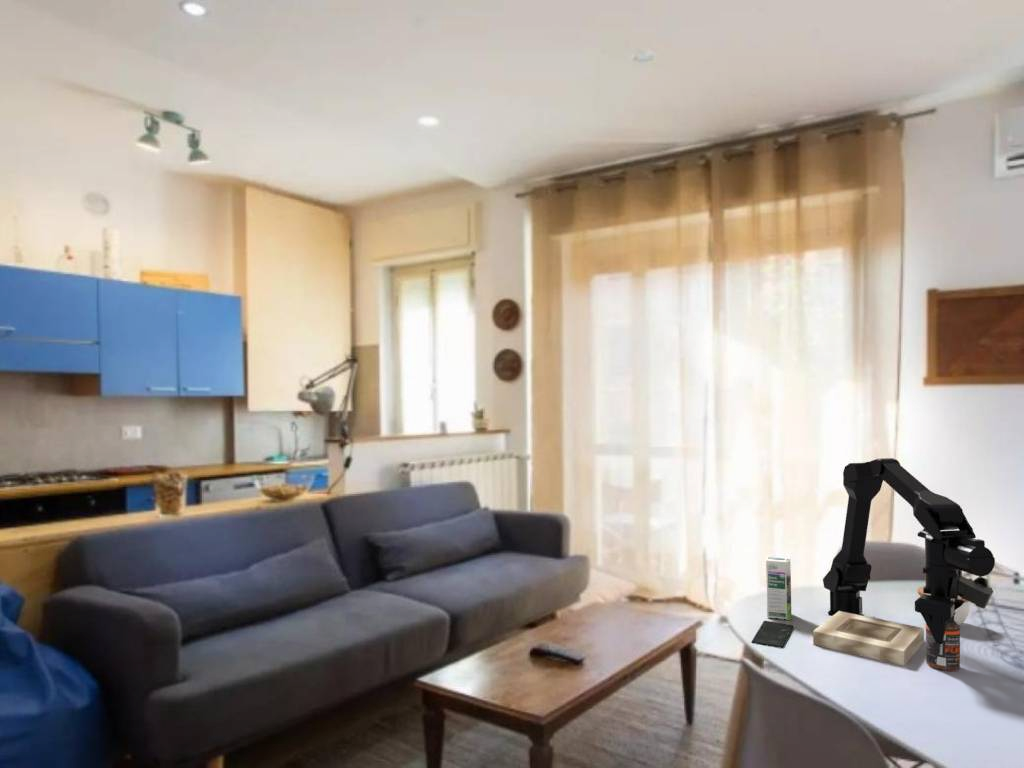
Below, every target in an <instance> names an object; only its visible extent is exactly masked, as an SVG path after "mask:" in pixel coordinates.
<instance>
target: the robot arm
mask: <svg viewBox="0 0 1024 768" xmlns="http://www.w3.org/2000/svg"><path fill="white" fill-rule="evenodd" d="M842 475H843V480H842V481H843V483H842V484H843V487H844V488H845V489H844V490H845V492H846V493H847V495H848V501H847V507H846V514H845V521H844V529H843V534H842V535H843V537H842V543H841V549H840V551H839V552H838V553H837V554H836V555H835V556H834V557H833V559H832V563H831V567H830V570H828V572H827V573H826V574H825V576H824V577H823V578H822V584H823V587H824V588H825V590H828V591H829V610H828V611H827V614H828V615H831V616H833V615H834V614H836V613H837V612H838V611H842V612H847V613H852V614H857V615H862V614H863V597H862V596H860V595H861V592H866V591H867V587H868V583H869V580H871V571H872V569H873V568H872V565H871V564H870V563H868V560H867V559H866V557H865V548H866V540H867V534H868V527H869V520H870V514H871V513H870V512H871V507H872V500H873V499H875V497H876V496H877V495H878V494H879V493H880V491H881V488H882V486H883V482H885V483H886V484H887V485H888V486H889V487H890V488H892V490H893V491H895V493H897V494H898V495H899V496H900V497H901V498H903V500H905V502H906V503H908V505H910V507H911V508H912V512H913V517H915V519H916V521H918V523H919V524H920V525H921V527H923V529H921V530H920V531H919V532H918V533H917V534H916V535H917V537H919V538H923V539H924V552H925V553H924V558H925V559H924V560H925V561H924V562H925V563H924V566H923V567H922V574H925V575H924V577H925V579H924V580H925V585H924V586H925V587H924V588H923V593H927V594H931V595H926V594H923V595H922V596H920V597H919V598H918V597H917V599H916V600H915V601H914V612H916V613H919V614H920V615H921V616H922V619H923V620H924V622H925V625H926V624H927V626H928V628H929V630H930V632H931V634H932V636H933V638H934V640H935V642H936V643H938V644H943V640H944V635H945V629H946V624H947V620H949V619H950V618H952V617H953V616H954V615H955V614H956V613H955V610H956V609H957V608H959V607H960V606H962V605H963V603H964V602H965V601H963V600H958V596H960V597H961V598H962V599H965V600H967V601H969V602H970V603H972V604H974V605H975V606H976V607H978V608H981V609H986V607H987V606H988V603H989V602H990V599H991V598H992V596H993V595H992V594H993V593H994V590H993V588H992V587H989V579H987V578H985V576H988V575H989V574H991V573H992V571H993V570H994V567H995V564H996V559H995V558H996V557H994V554H993V552H992V551H991V550H990V549H989V548H988V547H986V542H985V540H984V539H980V538H979V539H976V536H977V535H976V534H975V532H974V528H973V527H972V526H971V524H970V522H969V521H968V519H967V517H966V515H965V514H964V511H963V509H962V507H961V506H960V504H958V503H957V502H955V501H953V500H952V499H950V498H948V497H947V496H946V495H945V496H944V495H941V494H937V493H935V492H934V491H932V490H930V489H929V488H927V487H926V486H925V485H924V484H923V483H922V482H921V481H919V479H917V478H916V477H915V476H914V475H912V474H911V473H910V472H909V471H908V470H906V468H904V467H903V466H902V465H901V463H900V462H899V460H898V459H895V458H892V457H891V458H890V457H889V458H887V457H884V458H876V459H872V460H870V461H865V462H850V463H848V464H847V465H845V466H844V467H843V471H842ZM963 572H965V573H967V574H971V575H973V576H977V577H976V578H974V579H972V578H968V577H965V576H963Z"/></svg>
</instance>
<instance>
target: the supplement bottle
mask: <svg viewBox="0 0 1024 768" xmlns="http://www.w3.org/2000/svg"><path fill="white" fill-rule="evenodd" d="M960 632H961V627H960V625H958V624H957V623H956V622H955V621H954V616H953V617H952V618H950V619H949V620H947V624H946V629H945V635H944V640H943V644H938V643H936V642H935V640H934V638H933V636H932V634H931V632H930V630H929V628H928V626H927V624H926V623H925V659H926V660H925V661H926V664H927V665H928V666H930V667H932V668H934V669H937V670H939V671H946V672H956V671H958V670H959V669H960V668H961V633H960Z"/></svg>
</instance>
